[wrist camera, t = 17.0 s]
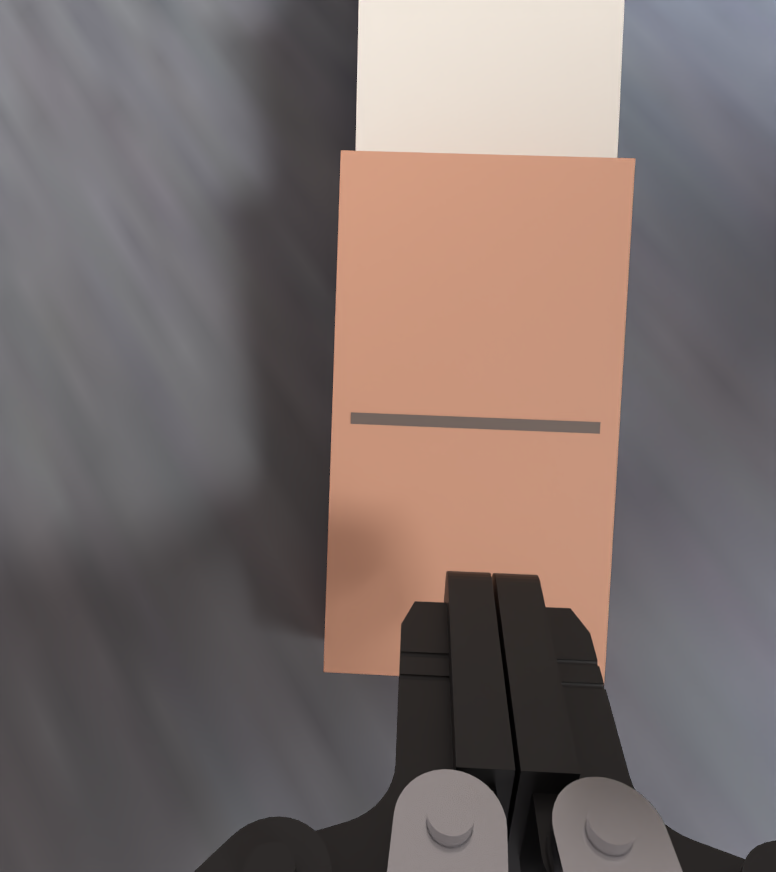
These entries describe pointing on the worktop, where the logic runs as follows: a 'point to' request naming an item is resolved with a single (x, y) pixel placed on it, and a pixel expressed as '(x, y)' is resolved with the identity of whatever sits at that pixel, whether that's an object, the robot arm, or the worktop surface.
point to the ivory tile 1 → (490, 76)
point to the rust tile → (473, 385)
